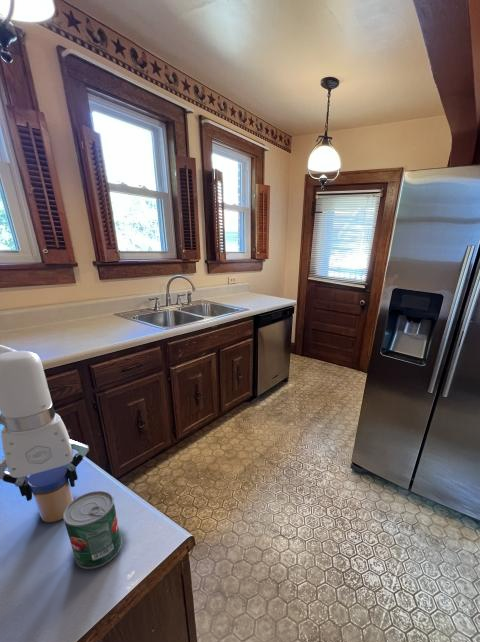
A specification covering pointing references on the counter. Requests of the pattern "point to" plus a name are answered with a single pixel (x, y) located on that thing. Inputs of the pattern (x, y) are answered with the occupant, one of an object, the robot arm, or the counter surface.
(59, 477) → the jar lid
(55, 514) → the jam jar
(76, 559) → the canned tomato
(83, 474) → the counter surface
